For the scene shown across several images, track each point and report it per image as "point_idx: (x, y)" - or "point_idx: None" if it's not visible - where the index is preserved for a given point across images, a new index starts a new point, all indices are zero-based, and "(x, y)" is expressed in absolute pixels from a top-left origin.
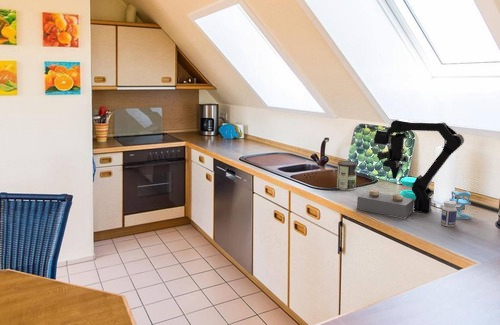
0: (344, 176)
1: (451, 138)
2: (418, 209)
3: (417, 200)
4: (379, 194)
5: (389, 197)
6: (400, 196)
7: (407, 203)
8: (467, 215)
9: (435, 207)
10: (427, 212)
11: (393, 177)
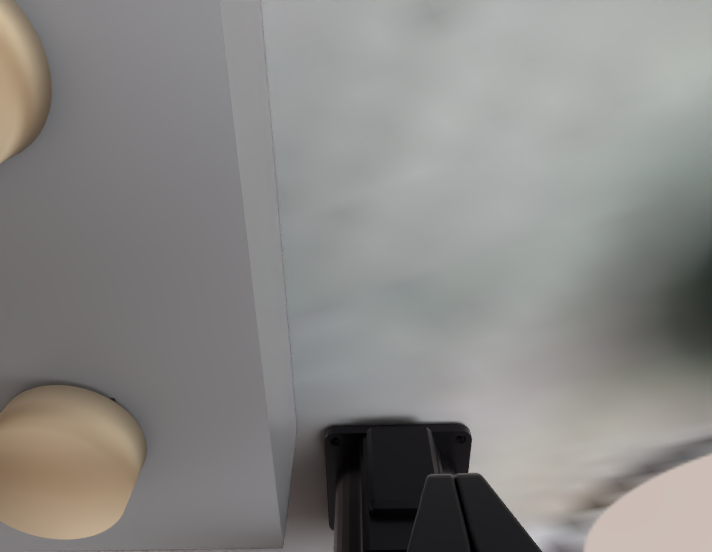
0: None
1: None
2: (339, 474)
3: (355, 536)
4: (133, 116)
5: (100, 319)
6: (44, 520)
7: (42, 547)
8: None
9: (565, 520)
10: (332, 526)
11: (418, 519)
